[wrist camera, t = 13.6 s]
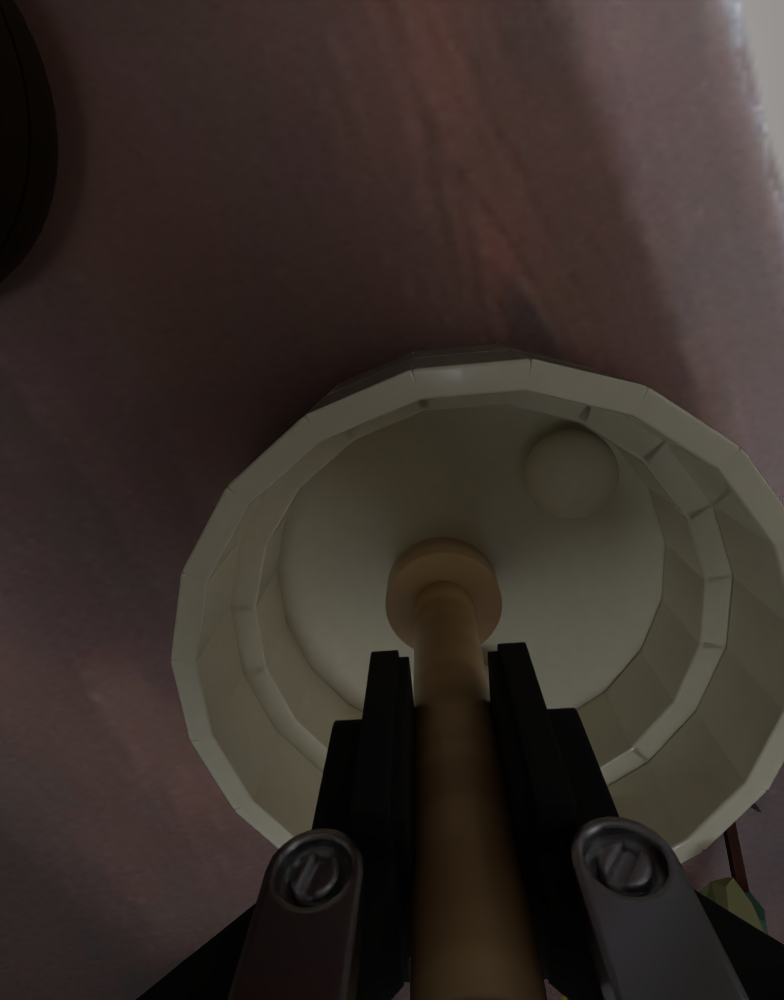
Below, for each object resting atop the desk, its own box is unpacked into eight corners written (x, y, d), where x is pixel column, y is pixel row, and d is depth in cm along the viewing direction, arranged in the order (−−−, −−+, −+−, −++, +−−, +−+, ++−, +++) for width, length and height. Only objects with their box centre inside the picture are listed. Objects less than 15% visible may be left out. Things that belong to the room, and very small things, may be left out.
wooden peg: (381, 540, 17) (319, 946, 6) (494, 531, 16) (634, 938, 6) (392, 638, 18) (355, 1136, 7) (499, 631, 17) (626, 1135, 7)
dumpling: (498, 475, 17) (533, 406, 15) (568, 481, 18) (608, 415, 16) (530, 536, 15) (573, 465, 14) (606, 538, 16) (654, 472, 14)
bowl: (210, 367, 17) (105, 396, 11) (710, 321, 16) (870, 328, 10) (282, 760, 21) (233, 924, 16) (680, 743, 20) (781, 911, 15)
